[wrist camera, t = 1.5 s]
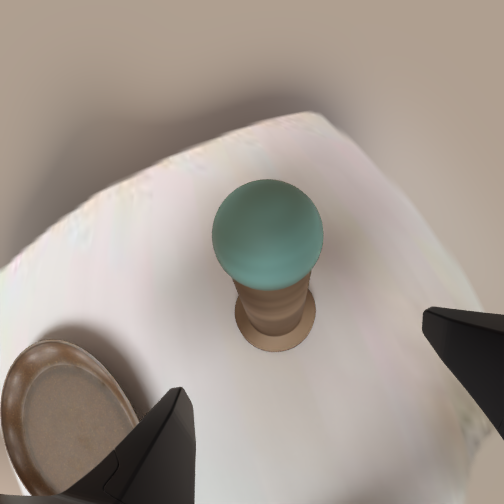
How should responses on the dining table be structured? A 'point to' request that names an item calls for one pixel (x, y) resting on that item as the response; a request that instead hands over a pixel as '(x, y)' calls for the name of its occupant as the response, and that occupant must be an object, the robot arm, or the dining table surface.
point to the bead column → (270, 260)
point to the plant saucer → (61, 415)
